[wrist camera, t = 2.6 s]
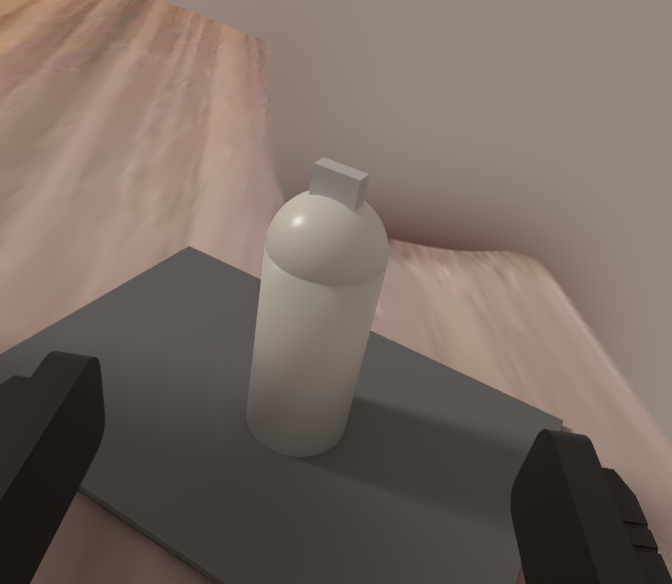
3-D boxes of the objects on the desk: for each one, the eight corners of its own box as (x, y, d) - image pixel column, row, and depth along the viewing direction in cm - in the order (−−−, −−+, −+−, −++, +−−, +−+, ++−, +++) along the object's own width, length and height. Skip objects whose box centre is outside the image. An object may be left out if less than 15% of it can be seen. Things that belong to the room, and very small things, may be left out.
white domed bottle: (225, 423, 26) (246, 165, 19) (281, 367, 29) (317, 132, 22) (314, 474, 25) (372, 215, 18) (362, 409, 28) (427, 171, 21)
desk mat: (-60, 396, 25) (-61, 389, 25) (188, 251, 37) (189, 246, 37) (464, 751, 18) (468, 747, 17) (560, 425, 30) (563, 420, 30)
